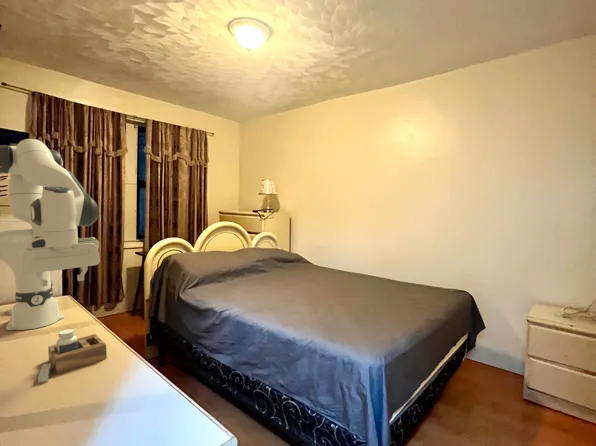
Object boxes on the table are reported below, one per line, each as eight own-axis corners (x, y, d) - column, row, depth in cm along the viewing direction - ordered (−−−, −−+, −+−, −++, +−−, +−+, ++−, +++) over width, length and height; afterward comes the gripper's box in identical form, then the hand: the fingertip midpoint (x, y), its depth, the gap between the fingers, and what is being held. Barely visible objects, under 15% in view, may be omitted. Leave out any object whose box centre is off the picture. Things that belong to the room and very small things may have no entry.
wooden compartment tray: (48, 360, 104) (48, 346, 103) (95, 346, 113) (95, 334, 113) (56, 373, 95) (55, 358, 95) (106, 358, 105) (106, 344, 104)
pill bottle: (83, 359, 104) (81, 329, 103) (66, 367, 99) (64, 335, 98) (70, 356, 106) (68, 327, 105) (53, 364, 101) (51, 333, 100)
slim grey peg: (42, 371, 97) (42, 364, 97) (52, 369, 98) (51, 362, 98) (38, 384, 90) (37, 377, 90) (48, 382, 91) (47, 374, 91)
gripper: (96, 235, 111) (97, 275, 112) (17, 241, 97) (19, 287, 98) (101, 237, 107) (103, 279, 108) (19, 243, 92) (22, 291, 93)
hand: (63, 283), depth 103 cm, fingers open, 8 cm apart
